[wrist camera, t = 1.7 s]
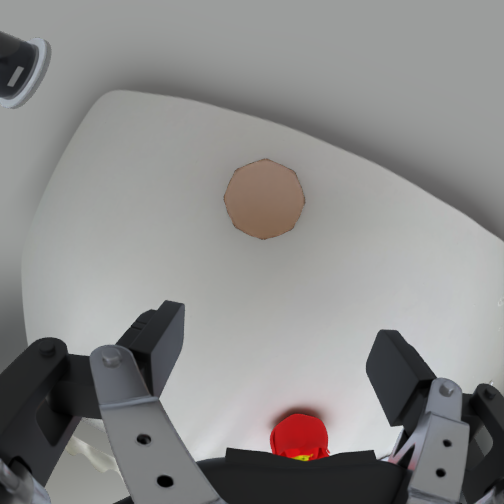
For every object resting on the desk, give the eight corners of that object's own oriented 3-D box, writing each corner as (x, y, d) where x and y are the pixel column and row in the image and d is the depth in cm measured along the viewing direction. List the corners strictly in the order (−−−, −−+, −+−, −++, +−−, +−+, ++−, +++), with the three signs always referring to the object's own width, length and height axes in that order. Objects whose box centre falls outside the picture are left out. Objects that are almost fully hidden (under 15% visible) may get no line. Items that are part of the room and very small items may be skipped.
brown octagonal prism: (224, 211, 27) (213, 219, 21) (249, 156, 25) (244, 148, 19) (279, 235, 27) (283, 250, 21) (304, 181, 25) (316, 181, 20)
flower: (324, 432, 34) (332, 473, 26) (273, 440, 34) (274, 481, 27) (322, 400, 32) (331, 444, 24) (265, 409, 33) (264, 454, 25)
